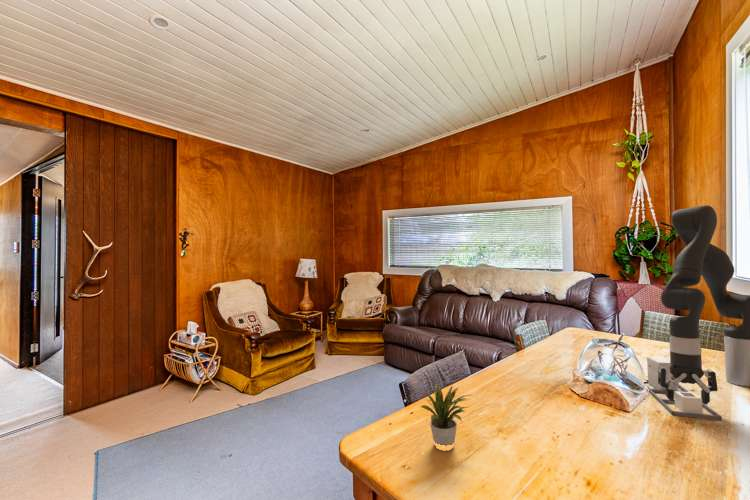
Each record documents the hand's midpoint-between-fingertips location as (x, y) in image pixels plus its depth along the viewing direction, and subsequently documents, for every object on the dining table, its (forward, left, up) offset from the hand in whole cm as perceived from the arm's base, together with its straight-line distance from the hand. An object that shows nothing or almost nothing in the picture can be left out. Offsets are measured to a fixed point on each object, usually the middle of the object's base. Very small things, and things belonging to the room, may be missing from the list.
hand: (687, 401), depth 111 cm
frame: (-10, 0, -3) cm, 10 cm away
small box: (-19, 0, -3) cm, 20 cm away
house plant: (+46, -69, -3) cm, 83 cm away
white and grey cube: (0, 0, -3) cm, 3 cm away
